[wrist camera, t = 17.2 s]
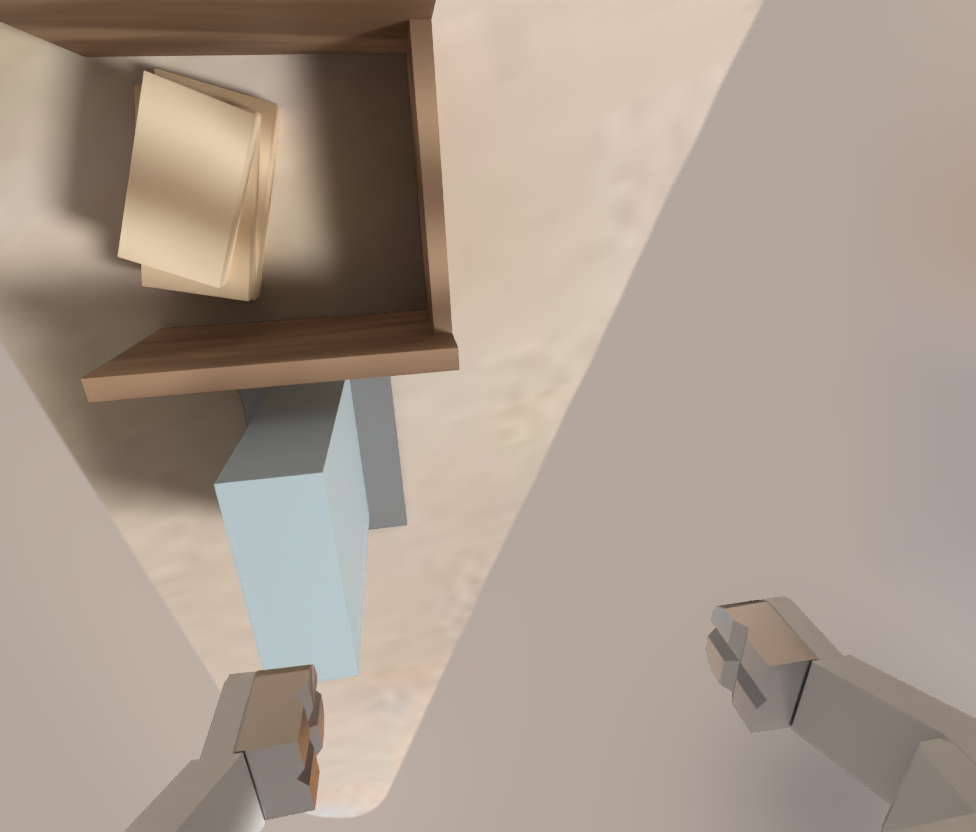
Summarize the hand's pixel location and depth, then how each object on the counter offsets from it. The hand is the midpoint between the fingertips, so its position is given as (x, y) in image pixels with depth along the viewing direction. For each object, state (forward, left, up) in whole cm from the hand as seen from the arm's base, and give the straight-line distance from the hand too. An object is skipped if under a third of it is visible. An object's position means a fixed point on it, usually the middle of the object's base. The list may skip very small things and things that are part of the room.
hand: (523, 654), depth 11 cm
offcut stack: (-9, -12, -30) cm, 33 cm away
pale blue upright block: (+9, -8, -29) cm, 31 cm away
